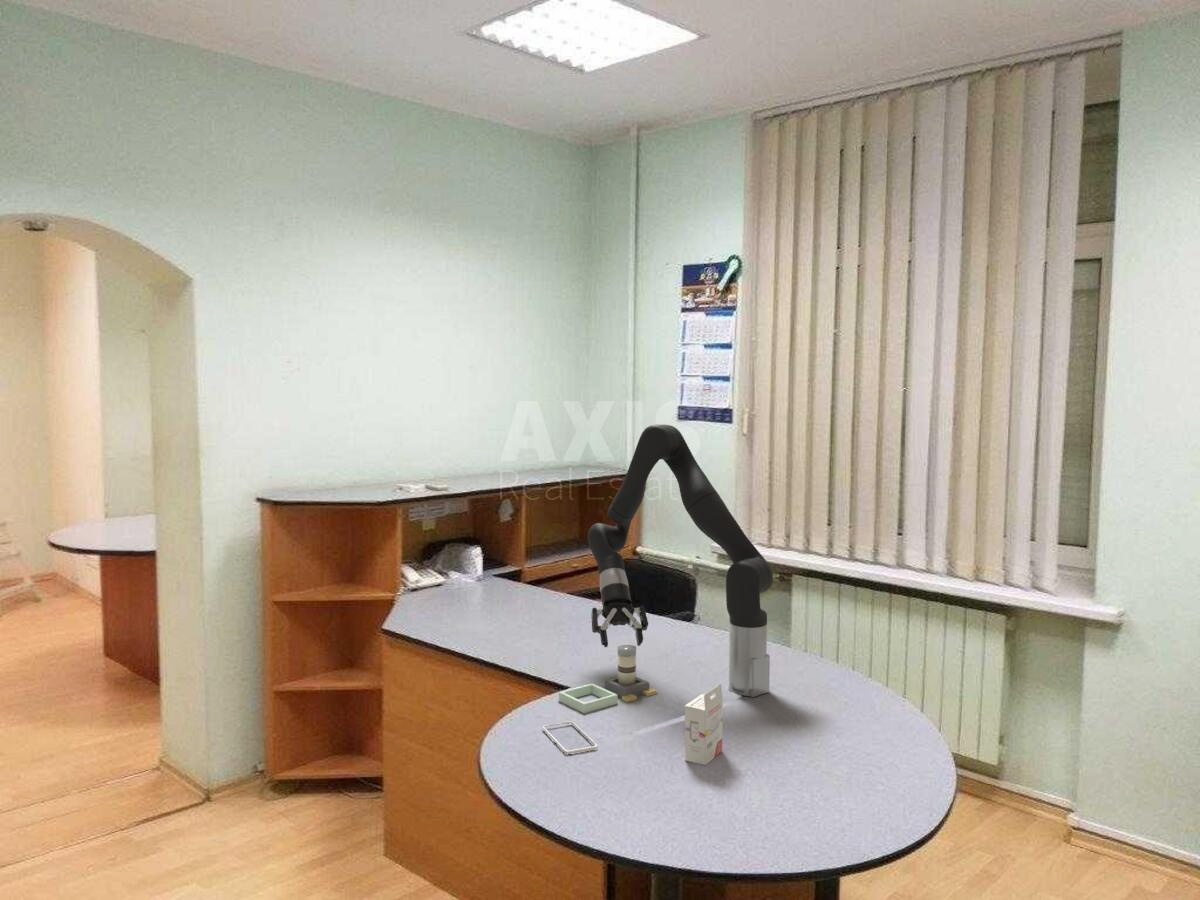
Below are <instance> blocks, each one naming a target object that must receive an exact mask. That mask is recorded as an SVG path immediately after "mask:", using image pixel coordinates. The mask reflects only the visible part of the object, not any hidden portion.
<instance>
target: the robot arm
mask: <svg viewBox="0 0 1200 900" xmlns="http://www.w3.org/2000/svg"><path fill="white" fill-rule="evenodd" d="M633 453H634V454H633V456H632V459H631V461H630V464H629V467H628V469H627V471H626V474H625V477H624V479H623V481H622V483H621V485H620V487H619V489H618V490H617V492H616V494H615V496H614V498H613V500H612V501H611V503H610V505H609V507H608V509H607V517H608V518H609V519H610V520H611V521H612V522H614V523H615V525H614V526H612V525H609V524H605V523H601V522H597V523H594V524H592V525H591V526H590V528H589V530H588V533H587V542H588V545H589V549H590V551H591V553H592V555H593V557H594V560H595V563H596V564H597V569H598V576H599V592H600V597H601V603H602V604H601V605H602V609H598V608H597V607H592V609H591V631H592V633H595V634H596V633H598V634H599V635H600V637H599V638H600V643H601V645H602V646H603V647H604V648H608V645H609V642H608V641H609V640H608V639H609V638H608V633H607V630H608V629H609V627H610V626H611V625H612V626H615V627H617V626H626V625H627V626H628V627H629V628H631V629H632V630H634V631H635V638H636V644H637V646H638V647H640V646H641V645H642V644H643V641H644V634H643V631H647V630H648V627H649V621H648V617H647V613H646V608H645V605H640V606H639V607H634V606H633V605H632V598H631V593H630V592H631V591H630V586H629V579H628V577H627V574H626V568H625V563H624V562H625V561H624V558H623V556H622V555H621V554H620V553H619V552H620V551H622V550H623V549H624V548H625V546H626V544H627V541H628V540H627V539H628V535H629V530H630V528H631V523H632V520H633V518H634V516H635V515H636V513H637V511H638V510H639V508H640V505H642V502H643V499H644V496H645V490H646V484H647V481H648V478H649V475H650V474H651V472H652V470H653V468H654V467H655V466H656V465H657V463H658V462H659V461H660V460H663V462H664V463H665V464H666V465H667V467H668V468H669V469H670V471H671V473H673V476H674V477H675V479H676V481H677V484H678V488H679V493H680V497H681V501H682V504H683V507H684V508H685V511H686V513H687V514H688V515H689V517H690V518H691V519H692V521H693V523H694V525H695V526H696V528H698V529H699V531H701V532H702V533H703V535H705V536H706V537H707V538H708V539H711V541H713V542H714V543H715V544H717V545H718V546H719V547H720V548H721V549H722V550H723V551H724V552H725V553H726V555H727V556H728V557H729V558H730V559H729V560H730V561H732V563H731V565H730V566H729V568H728V569H727V572H726V577H725V595H726V596H725V598H726V600H725V601H726V602H725V603H726V604H725V605H726V609H727V613H728V616H729V640H728V641H729V643H728V644H729V645H728V646H729V647H728V649H729V650H728V656H729V657H728V690H729V691H730V693H733V694H736V695H740V696H745V697H751V698H754V697H758V696H759V697H760V696H761V695H764V694H767V693H770V674H771V673H770V670H771V669H770V668H771V665H770V662H771V661H770V660H771V659H770V658H771V657H770V654H769V653H767V652H768V651H767V650H768V642H767V641H768V640H767V639H768V638H767V637H768V614H767V612H766V611H765V610H764V609H761V594H763V593H765V592H766V591H768V590H769V589H771V587H772V585H773V581H774V573H773V570H772V568H771V566H770V564H769V563H768V561H767V560H766V559H765V558H764V556H763V555H762V553H761V552H760V551H759V550H758V549H757V548H756V547H755V545H754V544H753V543H752V541H750V539H749V538H748V536H747V535H746V534H745V532H744V531H743V529H742V528H741V526H740V525H739V524H738V522H737V520H736V518H735V517H734V516H733V515H732V513H731V512H730V510H729V509H728V507H727V505H726V503H725V502H724V500H723V499H722V497H721V496H720V494H719V493H718V491H717V490H716V488H715V487H714V486H713V485H712V483H711V481H710V480H709V478H708V477H707V475H706V474H705V473H704V471H703V469H702V468H701V467H700V465H699V464H698V462H697V460H696V458H695V457H694V455H693V453H692V452H691V449H690V448H689V446H688V444H687V442H686V439H685V438H684V436H683V435H682V433H681V431H680V430H679V429H677V427H675V426H673V425H670V424H651V425H649V426H646V427H645V428H644V430H643V431H642V433H641V434H640V436H639V439H638V441H637V444H636V448H635V450H634V452H633ZM634 615H636V616H637V617H639V620H640V622H639V621H638V620H637V618H636V617H635V616H634ZM600 616H602V617H603V618H604V619H605V620H604V621H603V623H602V624H601V625H599V618H600Z"/></svg>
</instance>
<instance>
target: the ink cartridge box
mask: <svg viewBox="0 0 1200 900" xmlns="http://www.w3.org/2000/svg"><path fill="white" fill-rule="evenodd" d="M713 694H715V695H713ZM723 705H724V704H723V689H722V684H721V683H719V684H718V685H717V686H715V687H713V688H711V689H710V690H708V692H706V693H701V694H700V695H698V696H696V697H695V698H694V699H693V700H691V701H689V702H688V703H687V704H685V705H684V761H686V762H690V763H695V764H698V765H701V766H702V765H703V766H706V765H708V764H709V763H710V762H711V761H712V760H714V758H716V757H717V756H718V755H719V754H720V753H721V752H722V751H723V709H724V708H723Z"/></svg>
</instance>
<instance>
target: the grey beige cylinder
mask: <svg viewBox="0 0 1200 900" xmlns="http://www.w3.org/2000/svg"><path fill="white" fill-rule="evenodd" d="M636 675H637V647H636V645H633V644H621V645H618V646H617V677H618V684H620V685H623V686H625V687H626V686H629V685H633V684H636V677H637V676H636Z"/></svg>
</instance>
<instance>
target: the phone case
mask: <svg viewBox="0 0 1200 900" xmlns="http://www.w3.org/2000/svg"><path fill="white" fill-rule="evenodd" d="M569 723H571V724H573V725H574V726H575V727H576V728H577V729H578V730H579V731H580V732H581V733H582V734H583V735H584V736H585V737H586V738H587V739H588V740H589V741H590V742H591V743H592V744H593V745H594V746H593V745H592V744H591V746H587V747H582V748H576V749H570V750H567V749H565V747H564V746H563V745H562V744H561V743H560V742H559V741H558V740H557V739H556V738H555V737H554V736H553V735H552V734H551V733H550V732H549V730H548V729H546V728H545V727H554V725H555V726H560V724H561V725H565V724H566V725H567V724H569ZM543 729H544V730H545V731H546V733H548V735H549V736H550V737H551V738H552V739H553V740H554V741H555V742H556V744H557V745H556V746H558V747H559V748H560V749H561V750H562V753H563V752H564V753H566V754H571V753H577V752H583V751H589V750H595V749H597V750H598V744H597V743H596V742H595V741H594V740H593V739H592V738H591V737H590V736H589V735H588V734H587V733H586V732H584V730H582V729H581V728H580V727H579V726H578V725H577V724H576V723H575V722H573V721H571V720H570V721H564V722H558V723H553V724H547V725H543V726H542V730H543ZM595 751H596V750H595ZM589 752H590V751H589ZM564 753H563V754H564Z"/></svg>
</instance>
